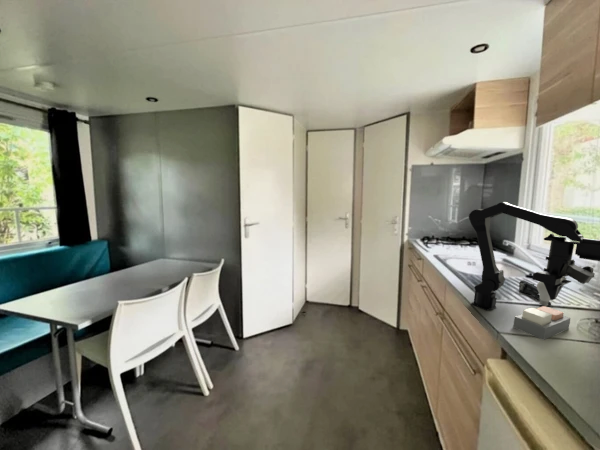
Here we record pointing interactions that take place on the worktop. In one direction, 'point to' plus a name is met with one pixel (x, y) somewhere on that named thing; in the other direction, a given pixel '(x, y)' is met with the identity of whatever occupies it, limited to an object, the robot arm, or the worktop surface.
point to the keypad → (541, 327)
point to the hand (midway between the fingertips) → (552, 299)
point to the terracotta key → (552, 312)
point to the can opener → (530, 289)
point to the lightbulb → (543, 294)
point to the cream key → (537, 316)
